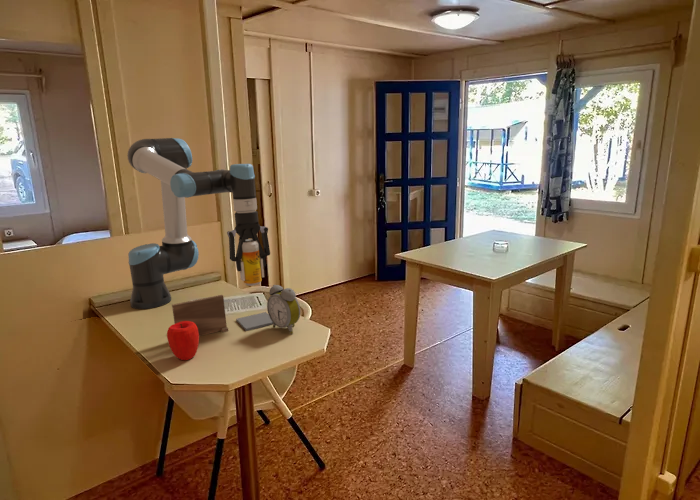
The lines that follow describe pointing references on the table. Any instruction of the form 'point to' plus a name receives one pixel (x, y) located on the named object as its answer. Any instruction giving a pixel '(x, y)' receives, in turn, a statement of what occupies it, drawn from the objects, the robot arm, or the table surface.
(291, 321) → the alarm clock
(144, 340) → the table surface
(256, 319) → the coaster
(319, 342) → the table surface
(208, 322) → the screen
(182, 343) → the apple
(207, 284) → the table surface
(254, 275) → the yellow pill bottle
